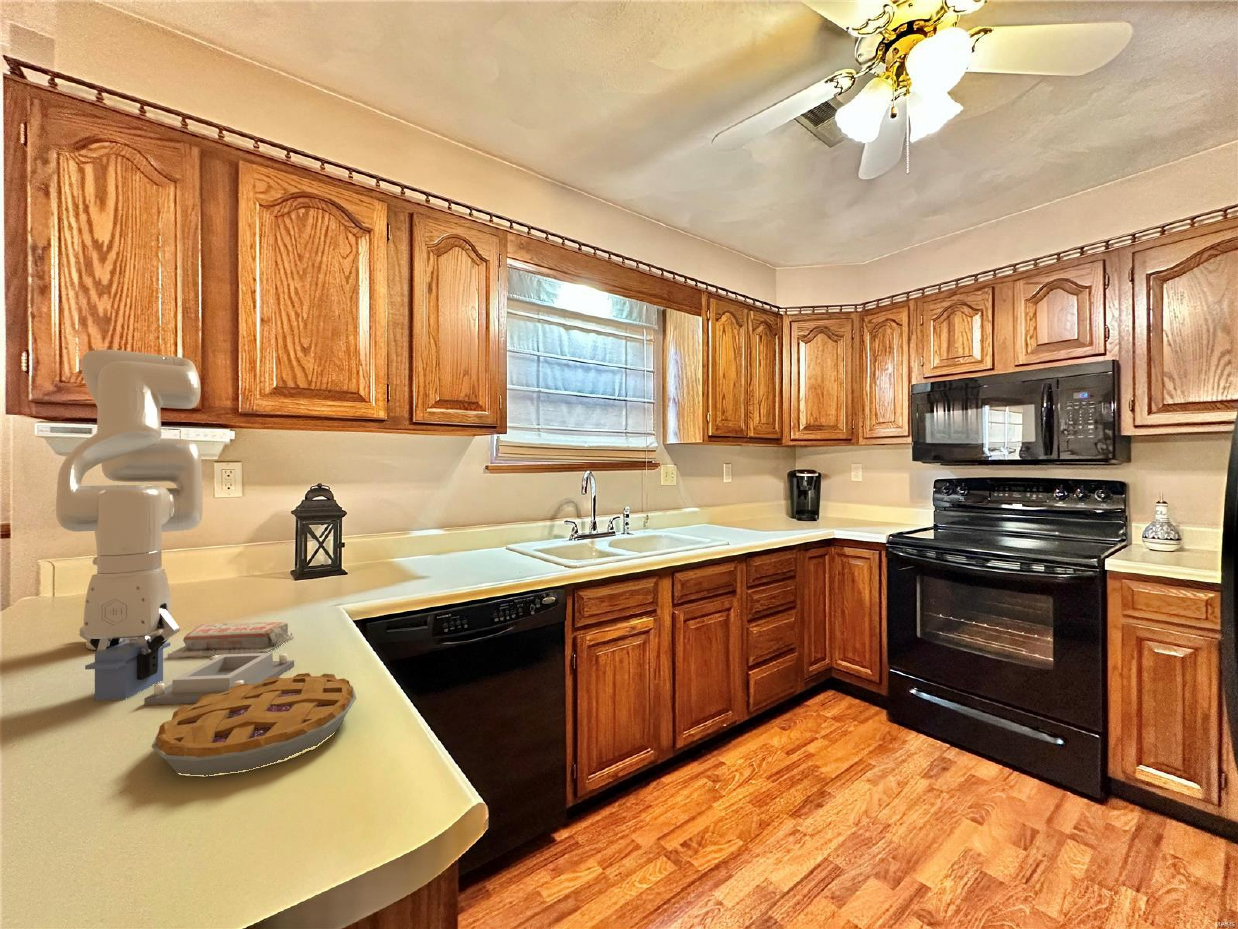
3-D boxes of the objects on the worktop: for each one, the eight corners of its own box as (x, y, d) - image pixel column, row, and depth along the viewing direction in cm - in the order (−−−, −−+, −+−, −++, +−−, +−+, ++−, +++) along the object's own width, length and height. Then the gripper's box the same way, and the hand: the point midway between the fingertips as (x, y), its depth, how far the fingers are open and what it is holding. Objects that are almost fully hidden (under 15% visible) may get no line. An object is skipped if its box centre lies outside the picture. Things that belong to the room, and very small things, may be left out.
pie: (113, 809, 53) (113, 760, 53) (191, 717, 73) (191, 682, 73) (350, 759, 62) (349, 718, 62) (361, 689, 82) (361, 658, 82)
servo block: (85, 704, 77) (85, 651, 77) (142, 678, 87) (142, 630, 87) (116, 703, 77) (116, 650, 77) (170, 677, 87) (170, 630, 87)
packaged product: (295, 617, 107) (266, 632, 97) (295, 640, 107) (266, 657, 97) (205, 619, 106) (166, 635, 96) (205, 642, 106) (166, 660, 96)
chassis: (144, 705, 77) (144, 684, 77) (212, 668, 91) (212, 651, 91) (241, 701, 78) (241, 681, 78) (294, 666, 92) (294, 649, 92)
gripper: (50, 569, 78) (49, 689, 78) (166, 566, 79) (166, 685, 79) (96, 560, 86) (96, 670, 85) (202, 558, 87) (202, 666, 87)
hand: (130, 676), depth 82 cm, fingers closed on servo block, 4 cm apart
